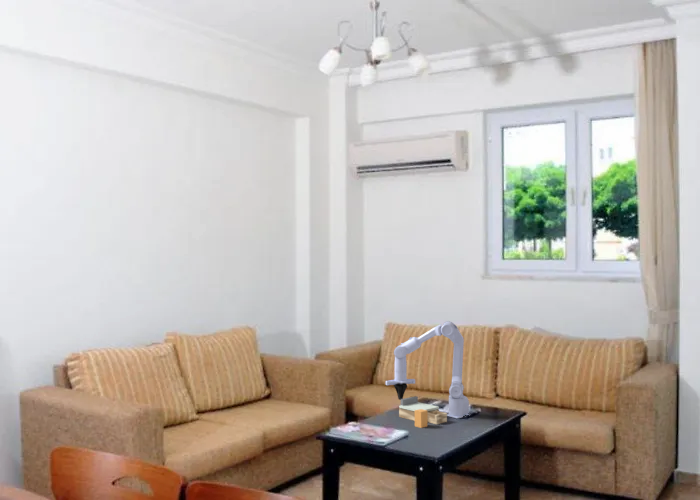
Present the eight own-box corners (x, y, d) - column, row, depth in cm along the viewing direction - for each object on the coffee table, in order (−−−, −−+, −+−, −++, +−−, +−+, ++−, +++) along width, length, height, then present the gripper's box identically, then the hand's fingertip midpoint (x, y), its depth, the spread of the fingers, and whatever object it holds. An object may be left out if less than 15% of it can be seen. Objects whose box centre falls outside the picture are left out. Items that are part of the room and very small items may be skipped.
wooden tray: (416, 412, 349) (416, 404, 349) (450, 420, 333) (450, 412, 333) (399, 416, 341) (399, 408, 341) (432, 425, 325) (432, 416, 325)
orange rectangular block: (421, 424, 327) (421, 409, 327) (427, 426, 324) (427, 410, 324) (414, 426, 324) (414, 410, 324) (421, 427, 321) (421, 411, 321)
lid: (416, 403, 349) (416, 395, 349) (439, 408, 339) (439, 400, 339) (399, 407, 341) (399, 399, 341) (421, 412, 331) (421, 404, 331)
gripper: (389, 373, 343) (389, 402, 343) (417, 371, 347) (417, 400, 347) (383, 370, 349) (383, 399, 349) (411, 369, 354) (411, 397, 354)
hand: (400, 399), depth 349 cm, fingers closed
